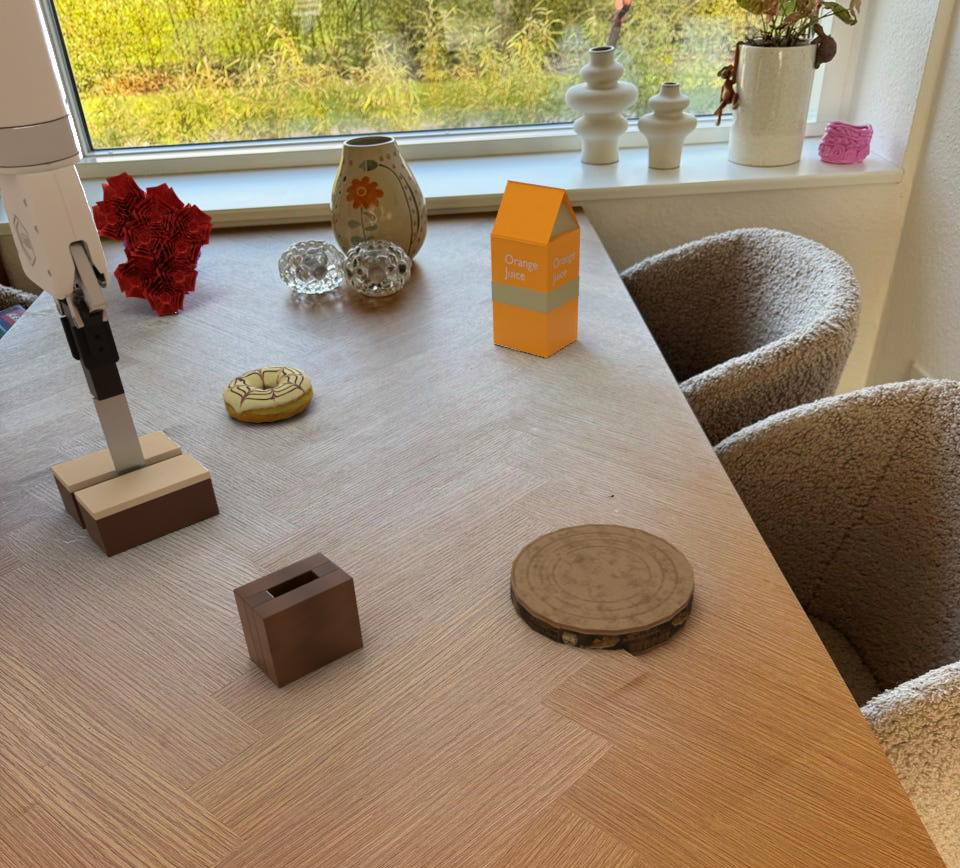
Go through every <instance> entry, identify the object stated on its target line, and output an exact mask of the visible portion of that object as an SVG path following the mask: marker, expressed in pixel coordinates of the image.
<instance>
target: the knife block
mask: <svg viewBox="0 0 960 868" xmlns="http://www.w3.org/2000/svg"><path fill="white" fill-rule="evenodd" d="M232 591H233V595H234V600H235V604H236V608H237V612H238V616H239V619H240V623H241V628H242V630H243V635H244V640H245V643H246V646H247V651H248V655H249V658H250V660H251V661H252V662H253V663H254V664H255V665H256V666H257V667H258V668H259V669H260V670H261V671H262V672H263V673H264V675H266V677H267V678H268V679H270V680H271V682H272V683H273V684H274V685H275V686H276V688H278V689H282V688H283V687H286V686H288V685H290V684H292V683H294V682H297V681H298V680H300V679H301V678H303V677H306V676H308V675H309V674H312V673H314V672H316V671H318V670H319V669H322V668H323V667H326V666H328V665H330V664H331V663H334V662H336V661H338V660H339V659H342V658H344V657H346V656H348V655H350V654H352V653H354V652H355V651H358V650H360V649H361V648H363V647H364V641H363V634H362V628H361V621H360V615H359V614H360V613H359V607H358V601H357V595H356V588H355V582H354V578H353V577H352V576H351V574H349V573H348V572H346V571H345V570H344V569H343V568H341V567H340V566H339V565H338V564H337V563H335V562H334V561H332V560H331V559H330V557H328V556H327V555H326V554H324V553H323V552H322V551H318V552H316V553H314V554H311V555H309V556H307V557H305V558H302V559H300V560H298V561H296V562H294V563H291V564H289V565H286V566H284V567H282V568H280V569H277V570H274V571H273V572H271V573H268V574H266V575H264V576H262V577H261V576H260V577H259V578H256V579H254V580H252V581H250V582H248V583H244V584H243V585H241V586H238V587H236V588H233V590H232Z"/></svg>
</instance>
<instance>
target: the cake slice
mask: <svg viewBox="0 0 960 868" xmlns="http://www.w3.org/2000/svg"><path fill="white" fill-rule="evenodd" d="M74 495H75V497H76V500H77V503H78V505H79V508H80V511H81V514H82V517H83V520H84V522H85V525H86V528H85V529H86V531H87V533H88V536H89V537H90V538H91V539H92V540H93V541H94V542H95V544H96V545H97V546H98V547H99V548H100V549H101V550H102V552H103V553H104V554H105V555H106V556H107V557H111V556H114V555H117V554H119V553H122V552H124V551H127V550H130V549H133V548H134V547H137V546H140V545H142V544H145V543H147V542H150V541H152V540H155V539H158V538H160V537H163V536H165V535H168V534H172V533H173V532H175V531H178V530H181V529H184V528H186V527H188V526H191V525H193V524H196V523H198V522H201V521H204V520H207V519H209V518H212V517H214V516H217V515H219V514H220V509H219V505H218V500H217V497H216V493H215V490H214V485H213V481H212V476H211V472H210V470H209V469H207V468H206V467H205V466H204V465H203V464H202V463H200V462H199V461H198V460H197V459H196V458H194V457H193V456H192V455H191V454H189V452H184V453H182V455H179V456H176V457H173V458H170V459H167V460H165V461H162V462H159V463H156V464H153V465H150V466H148V467H145V468H142V469H139V470H136V471H134V472H131V473H128V474H125V475H122V476H119V477H117V478H114V479H111V480H108V481H105V482H102V483H100V484H97V485H94V486H91V487H88V488H85V489H83V490H80V491H77V492H74Z"/></svg>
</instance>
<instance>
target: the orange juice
mask: <svg viewBox="0 0 960 868" xmlns="http://www.w3.org/2000/svg"><path fill="white" fill-rule="evenodd" d="M506 181H507V182H506V186H505V189H504V191H503V195H502V198H501V201H500V204H499V208H498V210H497V211H498V212H497V213H496V214H497V215H496V218H495V220H494V223H493V227H492V229H491V233H490V263H491V265H490V267H491V281H490V282H491V301H492V302H491V303H492V331H493V332H492V333H493V336H492V337H493V344H494V343H495V344H499V345H503V346H507V347H509V348H513V349H516V350H519V351H518V352H520V351H523V352H522V353H524V352H527V353H526V354H528V353H531V354H533V355H532V356H535V355H537V356H536V357H539V356H541V357H540V358H543V357H544V359H548V358H550V357H552V356H553V355H555V354H556V353H558V352H559V351H561V350H562V348H563V349H564V348H566V347H568V346H569V345H571V344H572V343H575V342H576V341H577V340H578V331H579V330H578V324H579V296H580V259H581V257H580V256H581V254H580V253H581V226H580V224H579V221H578V219H577V216H576V214H575V210H574V208H573V207H572V204H571V201H570V199H569V197H568V193H567V192H566V191H567V190H566V189H565V188H560V187H554V186H549V185H548V186H547V185H541V184H535V183H529V182H521V181H516V180H509V179H507V180H506ZM576 339H577V340H576ZM575 340H576V341H575ZM570 343H571V344H570ZM567 345H568V346H567ZM565 346H566V347H565ZM560 349H561V350H560ZM516 350H515V351H516ZM557 351H558V352H557ZM554 353H555V354H554ZM531 354H530V355H531ZM549 356H550V357H549Z"/></svg>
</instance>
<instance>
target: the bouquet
mask: <svg viewBox="0 0 960 868" xmlns="http://www.w3.org/2000/svg"><path fill="white" fill-rule="evenodd" d="M105 181H106V182H107V183H103V182H102V183H101V188H102V200H100V201H99V200H98V201H96V202H95V204H96V205H92V206H91V212H92V216H93V219H94V222H95V225H96V228H97V232H98V235H99V237H100V236H101V237H105V238H109V239H111V240H114V241H116V242H120V241H121V242H122V243H123V244H122V245H123V247H124V249H123V252H124V254H125V257H126V259H127V260H126V261H125V262H123V263H119V264H118V265H117V267H116V268H115V270H114V271H113V276H114V277H115V279H116V281H117V283H118V286H119V289H120V293H124V294H125V298H126V299H130V298H136V299H141V300H146V301H147V302H148V303H149V306H150V308H151V310H152V312H153V313H154V312H155V313H156V314H157V316H158V315H161V316H163V315H172V314H171V313H175V312H177V311H178V312H179V311H183V312H184V299H185V295H190V293H189V292H192V293H193V292H194V293H195V290H196V282H197V277H198V275H199V271H198V270H196V269H197V268H198V262H199V260H200V258H201V256H202V249H201V248H202V247H204V246H206V245H209V244H210V236H211V235H210V234H211V232H212V230H213V227H214V223H211V222H212V219H213V217H212V216H211V215H209V214H207V213H206V212H204V210H203V211H202V209H201V208H199V206H197V205H196V204H193V205H192V204H191V203H190V202H187V203H186V205H185V203H184V202H183V201H182V200H181V199H180V198H179V197H178V195H177V194H176V192H175V190H174V188H173V186H170V187H169V186H168V184H167V182H164V183H161V184H159V185H156V186H149V187H145V191H144V190H143V189H142V188H141V187H140V186H139V185H138V184H137V182H136V181H135V179H134V178H133V176H132V175H129V174H128V172H126V171H123V172H121V173H120V174H118V175H114V176H110V177H107V178H105Z"/></svg>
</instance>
